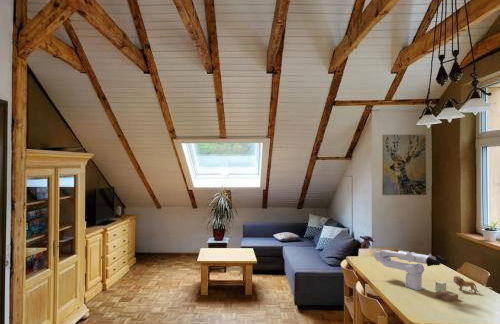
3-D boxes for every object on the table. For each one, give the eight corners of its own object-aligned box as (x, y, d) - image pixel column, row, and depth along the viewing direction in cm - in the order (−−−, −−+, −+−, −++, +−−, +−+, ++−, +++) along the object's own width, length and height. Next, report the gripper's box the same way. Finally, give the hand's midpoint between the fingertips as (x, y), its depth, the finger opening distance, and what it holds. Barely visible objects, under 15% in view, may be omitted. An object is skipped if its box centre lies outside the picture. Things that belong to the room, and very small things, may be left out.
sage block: (435, 290, 242) (435, 281, 242) (439, 289, 244) (439, 280, 244) (441, 293, 238) (442, 283, 238) (446, 292, 240) (446, 282, 240)
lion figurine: (453, 290, 243) (453, 276, 243) (452, 287, 248) (453, 274, 248) (479, 294, 237) (479, 280, 237) (478, 291, 242) (478, 277, 242)
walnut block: (435, 297, 231) (435, 292, 231) (444, 295, 235) (444, 289, 235) (449, 302, 223) (449, 296, 223) (458, 300, 227) (458, 294, 227)
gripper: (416, 254, 238) (435, 257, 227) (430, 251, 246) (449, 254, 234) (416, 265, 238) (436, 269, 226) (430, 262, 245) (450, 265, 233)
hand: (443, 262), depth 230 cm, fingers open, 7 cm apart
